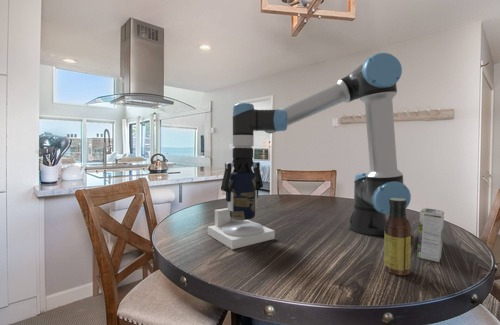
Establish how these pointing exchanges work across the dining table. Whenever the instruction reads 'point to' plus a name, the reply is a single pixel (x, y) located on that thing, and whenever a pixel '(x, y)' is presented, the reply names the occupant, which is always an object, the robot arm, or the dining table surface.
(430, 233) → the syrup box
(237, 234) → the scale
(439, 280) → the dining table surface
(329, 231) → the dining table surface
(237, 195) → the canister
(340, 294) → the dining table surface
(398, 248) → the sauce bottle
